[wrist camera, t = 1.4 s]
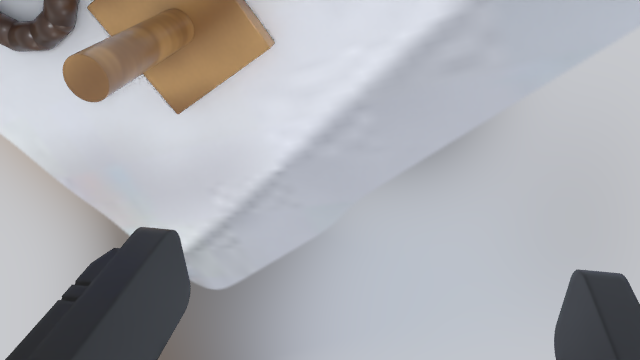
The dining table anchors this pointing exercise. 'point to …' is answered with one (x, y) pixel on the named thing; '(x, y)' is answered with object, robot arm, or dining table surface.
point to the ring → (40, 27)
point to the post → (167, 48)
